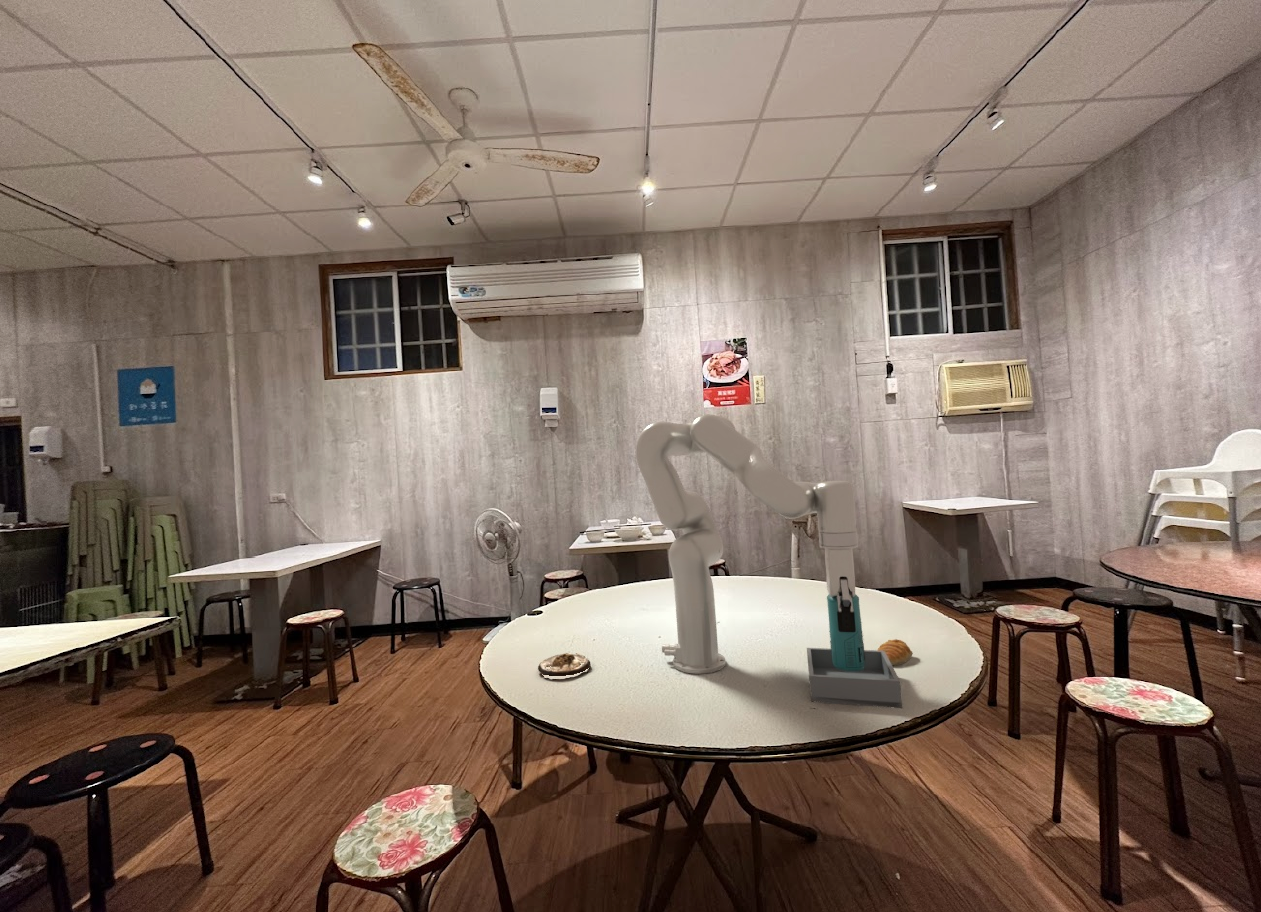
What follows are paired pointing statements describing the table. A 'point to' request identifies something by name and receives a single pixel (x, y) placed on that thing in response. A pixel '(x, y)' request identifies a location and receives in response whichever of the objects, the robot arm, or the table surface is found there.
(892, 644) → the pastry
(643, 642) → the table surface
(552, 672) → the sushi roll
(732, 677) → the table surface
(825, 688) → the bin
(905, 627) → the table surface
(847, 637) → the beverage bottle
